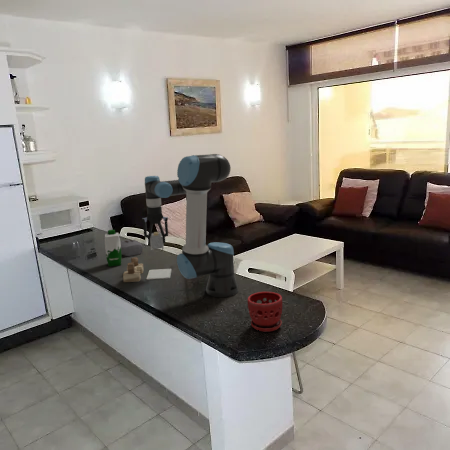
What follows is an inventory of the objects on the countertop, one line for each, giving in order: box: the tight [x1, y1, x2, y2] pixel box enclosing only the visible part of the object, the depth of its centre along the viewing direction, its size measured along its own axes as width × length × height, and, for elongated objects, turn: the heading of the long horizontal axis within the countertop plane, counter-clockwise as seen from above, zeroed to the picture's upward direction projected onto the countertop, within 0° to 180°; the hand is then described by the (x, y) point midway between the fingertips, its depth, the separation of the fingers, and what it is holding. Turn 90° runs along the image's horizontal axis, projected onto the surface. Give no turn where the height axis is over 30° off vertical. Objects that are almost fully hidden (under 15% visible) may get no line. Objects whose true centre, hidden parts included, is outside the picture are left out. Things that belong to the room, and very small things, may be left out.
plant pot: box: [247, 291, 283, 333], centre depth 154 cm, size 13×13×12 cm
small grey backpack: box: [120, 239, 143, 257], centre depth 262 cm, size 15×8×20 cm
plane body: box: [122, 256, 144, 283], centre depth 216 cm, size 17×8×9 cm, turn 4°
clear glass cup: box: [150, 231, 162, 250], centre depth 214 cm, size 6×5×8 cm
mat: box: [146, 268, 172, 281], centre depth 218 cm, size 14×12×1 cm
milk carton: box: [103, 229, 123, 267], centre depth 237 cm, size 9×9×20 cm
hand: (157, 249), depth 215 cm, fingers closed on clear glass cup, 5 cm apart
